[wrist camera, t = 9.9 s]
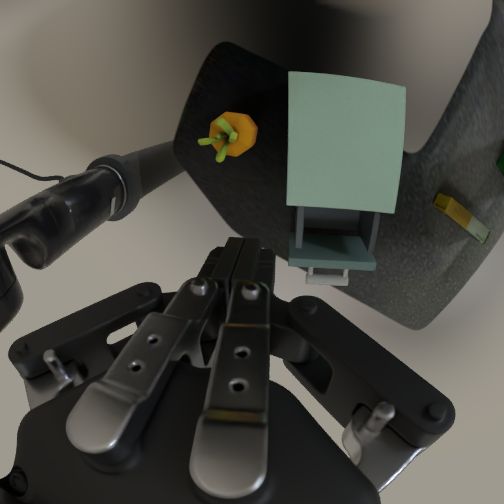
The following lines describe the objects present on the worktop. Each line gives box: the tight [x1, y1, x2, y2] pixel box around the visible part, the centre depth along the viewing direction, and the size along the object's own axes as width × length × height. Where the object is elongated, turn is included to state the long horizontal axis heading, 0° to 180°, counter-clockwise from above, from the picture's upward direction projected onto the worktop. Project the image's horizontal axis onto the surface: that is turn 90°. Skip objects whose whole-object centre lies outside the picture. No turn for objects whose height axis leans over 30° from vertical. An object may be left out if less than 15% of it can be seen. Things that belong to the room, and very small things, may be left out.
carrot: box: [198, 112, 258, 163], centre depth 28 cm, size 5×5×15 cm
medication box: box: [433, 192, 490, 244], centre depth 33 cm, size 12×3×4 cm, turn 68°
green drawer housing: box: [286, 72, 406, 213], centre depth 30 cm, size 15×13×10 cm
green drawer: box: [288, 206, 381, 286], centre depth 35 cm, size 18×11×8 cm, turn 0°
